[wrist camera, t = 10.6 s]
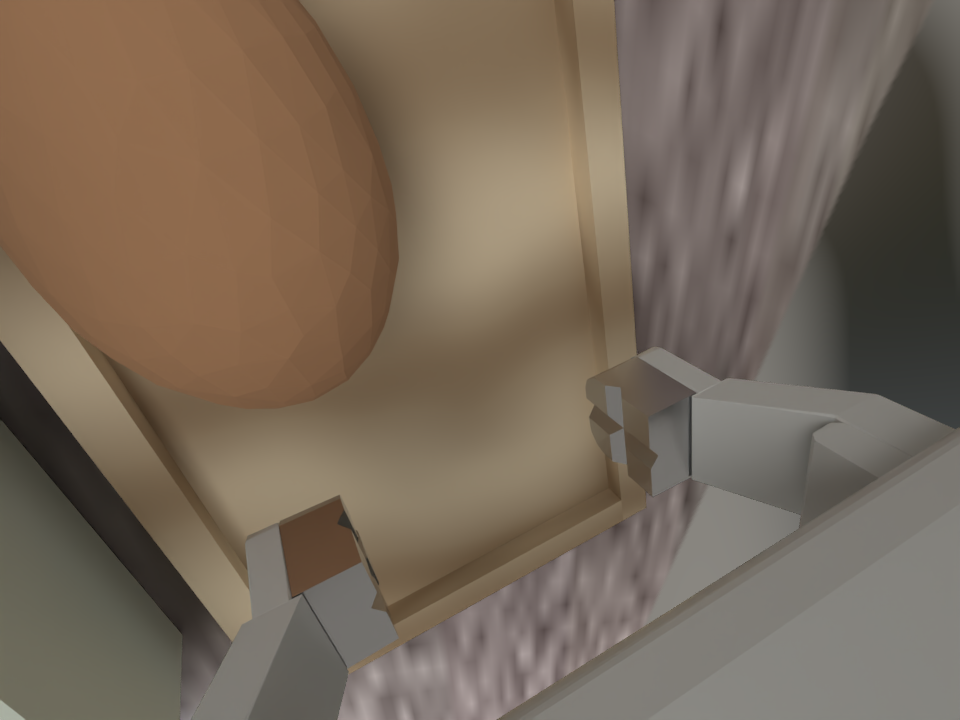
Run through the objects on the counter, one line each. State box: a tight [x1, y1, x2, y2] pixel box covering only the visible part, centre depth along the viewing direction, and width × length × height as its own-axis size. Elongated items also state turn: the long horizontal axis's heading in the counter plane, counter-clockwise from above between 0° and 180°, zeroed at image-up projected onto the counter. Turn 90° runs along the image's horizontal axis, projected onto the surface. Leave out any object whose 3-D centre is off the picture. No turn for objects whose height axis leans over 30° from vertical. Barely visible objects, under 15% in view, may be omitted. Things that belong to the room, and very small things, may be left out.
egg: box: [0, 0, 399, 409], centre depth 8 cm, size 5×5×8 cm
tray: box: [0, 0, 646, 674], centre depth 13 cm, size 18×13×2 cm
